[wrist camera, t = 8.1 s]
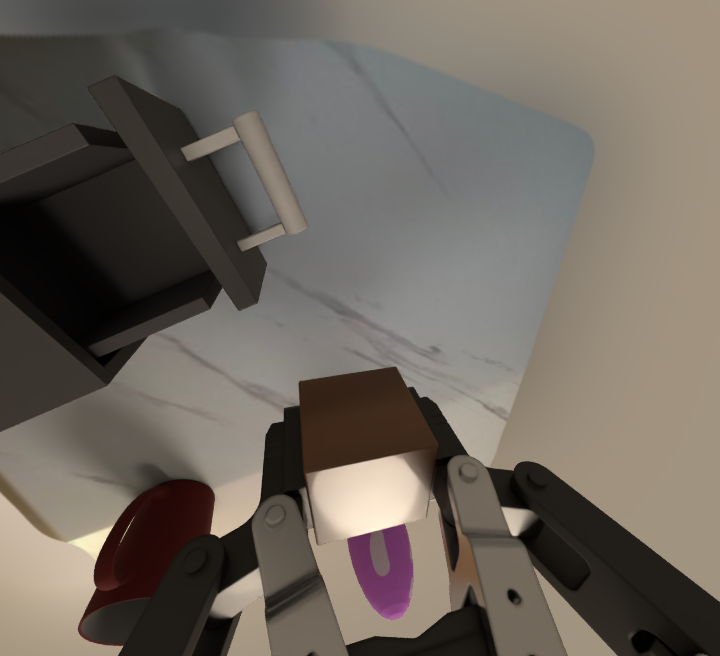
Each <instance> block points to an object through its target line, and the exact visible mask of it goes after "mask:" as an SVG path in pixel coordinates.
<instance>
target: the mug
mask: <svg viewBox="0 0 720 656" xmlns="http://www.w3.org/2000/svg"><path fill="white" fill-rule="evenodd" d="M214 501H215V496H214V493H213V491H212V490H211V489H210V488H209V487H207V486H206V485H204V484H201V483H199V482H195V481H189V480H176V481H169V482H165V483H162V484H160V485H158V486H156V487H154V488H152V489H149V490H147V491H145V492H143V493H142V494H141V495H139V496H138V497H137V498H136V499H135V500H133V501H132V502H131V504H130V505H129V506H128V507H127V508H126V509H125V511H124V512H123V513H122V515H121V516H120V517H119V519H118V520H117V522H116V523H115V525H114V527H113V528H112V530H111V532H110V533H109V535H108V537H107V539H106V541H105V543H104V545H103V547H102V549H101V551H100V553H99V556H98V558H97V561H96V564H95V569H94V583H95V585H96V587H97V588H96V590H95V592H94V594H93V596H92V598H91V600H90V602H89V604H88V606H87V608H86V610H85V613H84V615H83V617H82V619H81V621H80V623H79V626H78V632H79V634H80V635H81V636H82V637H83V638H84V639H86V640H88V641H90V642H94V643H98V644H103V645H113V646H124V644H125V643H126V641H127V639H128V637H129V636H130V634H131V632H132V630H133V629H134V627H135V625H136V623H137V622H138V620H139V618H140V616H141V615H142V613H143V611H144V609H145V607H146V606H147V604H148V602H149V600H150V599H151V597H152V595H153V593H154V592H155V590H156V588H157V586H158V585H159V583H160V581H161V579H162V577H163V576H164V574H165V572H166V570H167V569H168V567H169V565H170V563H171V562H172V560H173V558H174V557H175V555H176V554H177V552H178V551H179V550H180V549H181V548H182V547H183V546H184V545H185V544H186V543H188V542H189V541H190V540H192V539H194V538H196V537H198V536H201V535H205V534H210V531H211V524H212V516H213V509H214ZM134 516H135V517H134ZM133 518H134V519H133ZM132 519H133V521H132ZM131 521H132V522H131ZM130 523H131V524H130ZM129 524H130V526H129ZM128 526H129V528H128ZM127 528H128V530H127ZM126 530H127V532H126ZM125 532H126V534H125ZM124 534H125V535H124ZM123 536H124V537H123ZM122 538H123V539H122ZM121 540H122V541H121ZM120 542H121V543H120ZM119 544H120V545H119Z"/></svg>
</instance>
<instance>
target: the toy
mask: <svg viewBox="0 0 720 656" xmlns="http://www.w3.org/2000/svg"><path fill="white" fill-rule="evenodd" d="M347 540H348V547H349V552H350V556H351V560H352V564H353V568H354V571H355V573H356V576H357V579H358V582H359V584H360V586H361V588H362V590H363V592H364V594H365V596H366V598H367V599H368V601H369V602H370V604H371V605H372V607H373V608H374V609H375V610H376V611H377V612H378V613H379V614H380V615H381V616H383V617H385V618H387V619H390V620H394V619H397V618H400V617H401V616H402V615H403V614H404V613H405V611H406V610H407V608H408V607H409V603H410V600H411V596H412V589H413V559H412V552H411V546H410V541H409V537H408V533H407V530H406V526H405V524H402V525H398V526H394V527H390V528H386V529H382V530H378V531H374V532H370V533H366V534H362V535H358V536H355V537H351V538H347Z"/></svg>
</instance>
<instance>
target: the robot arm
mask: <svg viewBox="0 0 720 656" xmlns="http://www.w3.org/2000/svg"><path fill="white" fill-rule="evenodd" d="M408 389H409V391H410V393H411V395H412V397H413V399H414V400H415V402H416V404H417V406H418V408H419V410H420V411H421V413H422V415H423V417H424V419H425V421H426V422H427V424H428V426H429V428H430V430H431V432H432V433H433V435H434V437H435V439H436V441H437V443H438V450H437V457H436V463H435V469H434V475H433V481H432V488H431V494H430V500H432V499H436V501H437V503H438V506H439V521H440V527H441V532H442V538H443V544H444V549H445V555H446V561H447V566H448V572H449V583H450V586H449V587H450V588H449V590H450V603H451V610H452V612H449V613H447V614H446V615H445V616H443V617H442V618H441V619H440V620H438V621H437V622H436V623H435V624H434V625H432V626H431V627H430V628H429V629H427V630H426V631H425V632H424V633H422V634H421V635H420V636H419V637H417V638H397V637H380V636H374V637H371V638H368V639H365V640H361V641H358V642H355V643H352V644H349V645H346V646H345V643H344V640H343V637H342V634H341V631H340V628H339V625H338V622H337V619H336V616H335V613H334V610H333V607H332V604H331V601H330V598H329V595H328V592H327V589H326V586H325V583H324V580H323V578H322V575H321V574H320V572H319V569H318V566H317V563H316V560H315V557H314V554H313V551H312V548H311V545H310V542H309V538H308V529H310V528H314V527H313V522H312V517H311V511H310V506H309V501H308V495H307V490H306V485H305V479H304V474H303V459H302V439H301V420H300V405H299V406H293V407H287V408H284V422H278V423H272V425H271V426H270V428H269V430H268V432H267V434H266V438H265V451H264V463H263V475H262V488H261V498H260V503H259V505H258V508H257V510H256V511H255V513H254V514H253V515H252V517H251V518H250V519H249V520H248V521H247V522H246V523H244V524H243V525H242V526H240V527H239V528H237V529H235V530H233V531H232V532H230V533H228V534H226V535H225V536H223V537H221V538H219V537H217V536H215V535H212V534H205V535H201V536H198V537H196V538H194V539H192V540H190V541H189V542H188V543H186V544H185V545H184V546H183V547H182V548H181V549H180V550H179V551H178V552H177V554H176V555H175V557H174V558H173V560H172V562H171V563H170V565H169V567H168V569H167V570H166V572H165V574H164V576H163V577H162V579H161V581H160V583H159V585H158V586H157V588H156V590H155V592H154V593H153V595H152V597H151V599H150V600H149V602H148V604H147V606H146V607H145V609H144V611H143V613H142V615H141V616H140V618H139V620H138V622H137V623H136V625H135V627H134V629H133V630H132V632H131V634H130V636H129V637H128V639H127V641H126V643H125V644H124V646H123V648H122V650H121V652H120V653H119V655H118V656H227V653H228V651H229V648H230V645H231V642H232V639H233V636H234V633H235V630H236V627H237V625H238V622H239V619H240V616H241V613H242V610H244V609H245V608H246V607H248V606H249V605H251V604H252V603H254V602H255V601H256V600H258V599H259V598H261V597H262V596H264V598H265V618H266V625H267V631H268V637H269V643H270V649H271V654H272V656H568V655H567V653H566V650H565V648H564V645H563V643H562V640H561V637H560V635H559V632H558V630H557V627H556V625H555V622H554V619H553V617H552V614H551V612H550V609H549V607H548V604H547V601H546V599H545V596H544V594H543V591H542V589H541V586H540V584H539V581H538V578H537V576H536V573H535V571H534V568H533V566H534V567H535V568H536V569H537V570H538V571H539V572H540V573H541V575H542V576H543V577H544V578H545V579H546V580H547V581H548V582H549V583H550V584H551V585H552V586H553V587H554V588H555V589H556V591H557V592H558V593H559V594H560V595H561V596H562V597H563V598H564V599H565V600H566V601H567V602H568V603H569V604H570V605H571V607H572V608H573V609H574V610H575V611H576V612H577V613H578V614H579V615H580V616H581V617H582V618H583V619H584V620H585V621H586V622H587V623H588V625H589V626H590V627H591V628H592V629H593V630H594V631H595V632H596V633H597V634H598V635H599V636H600V637H601V638H602V640H603V641H604V642H605V643H606V644H607V645H608V646H609V647H610V648H611V649H612V650H613V651H614V652H615V653H616V654H617V655H618V656H720V602H719V601H718V600H716V599H715V598H714V597H713V596H711V595H710V594H709V593H707V592H706V591H705V590H703V589H702V588H701V587H700V586H698V585H697V584H695V583H694V582H693V581H692V580H691V579H689V578H688V577H687V576H685V575H684V574H683V573H681V572H680V571H679V570H678V569H676V568H675V567H674V566H672V565H671V564H670V563H669V562H667V561H666V560H665V559H663V558H662V557H661V556H660V555H658V554H657V553H656V552H654V551H653V550H652V549H650V548H649V547H648V546H647V545H645V544H644V543H643V542H641V541H640V540H639V539H637V538H636V537H635V536H634V535H632V534H631V533H630V532H628V531H627V530H626V529H625V528H623V527H622V526H621V525H619V524H618V523H617V522H616V521H614V520H613V519H612V518H610V517H609V516H608V515H607V514H605V513H604V512H603V511H601V510H600V509H599V508H597V507H596V506H595V505H594V504H592V503H591V502H590V501H588V500H587V499H586V498H585V497H583V496H582V495H581V494H579V493H578V492H577V491H575V490H574V489H573V488H572V487H570V486H569V485H568V484H566V483H565V482H564V481H563V480H561V479H560V478H559V477H557V476H556V475H555V474H554V473H552V472H551V471H550V470H548V469H547V468H545V467H544V466H542V465H540V464H538V463H534V462H529V461H525V462H520V463H518V464H517V465H516V467H515V468H514V471H512V470H502V469H493V468H488V467H485V466H484V465H483V464H482V463H481V462H480V461H479V460H477V459H475V458H473V457H471V456H469V455H468V453H467V452H466V450H465V449H464V447H463V446H462V444H461V442H460V441H459V439H458V438H457V436H456V434H455V433H454V431H453V430H452V428H451V427H450V425H449V423H447V420H446V419H445V417H444V416H443V415H442V412H441V411H440V409H439V407H438V406H437V404H436V403H434V402H433V401H432V400H430V399H429V398H428V397H422V398H420V397H419V395H418V394H417V392H416V390H415V388H414V387H408Z"/></svg>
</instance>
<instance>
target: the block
mask: <svg viewBox="0 0 720 656" xmlns="http://www.w3.org/2000/svg"><path fill="white" fill-rule="evenodd" d="M299 400H300V420H301V439H302V459H303V474H304V479H305V485H306V490H307V495H308V501H309V506H310V511H311V517H312V522H313V527H314V533H315V538H316V543H317V545H323V544H327V543H330V542H335V541H339V540H343V539H347V538H351V537H355V536H358V535H362V534H366V533H370V532H374V531H378V530H382V529H386V528H390V527H394V526H398V525H402V524H406V523H409V522H413V521H417V520H421V519H425V518H426V517H427V512H428V506H429V500H430V494H431V488H432V481H433V475H434V469H435V463H436V457H437V450H438V443H437V441H436V439H435V437H434V435H433V433H432V432H431V430H430V428H429V426H428V424H427V422H426V421H425V419H424V417H423V415H422V413H421V411H420V410H419V408H418V406H417V404H416V402H415V400H414V399H413V397H412V395H411V393H410V391H409V389H408V388H407V386H406V384H405V382H404V380H403V379H402V377H401V375H400V373H399V371H398V369H397V368H396V367H389V368H383V369H376V370H370V371H363V372H357V373H350V374H344V375H337V376H331V377H324V378H318V379H311V380H305V381H300V382H299Z"/></svg>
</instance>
